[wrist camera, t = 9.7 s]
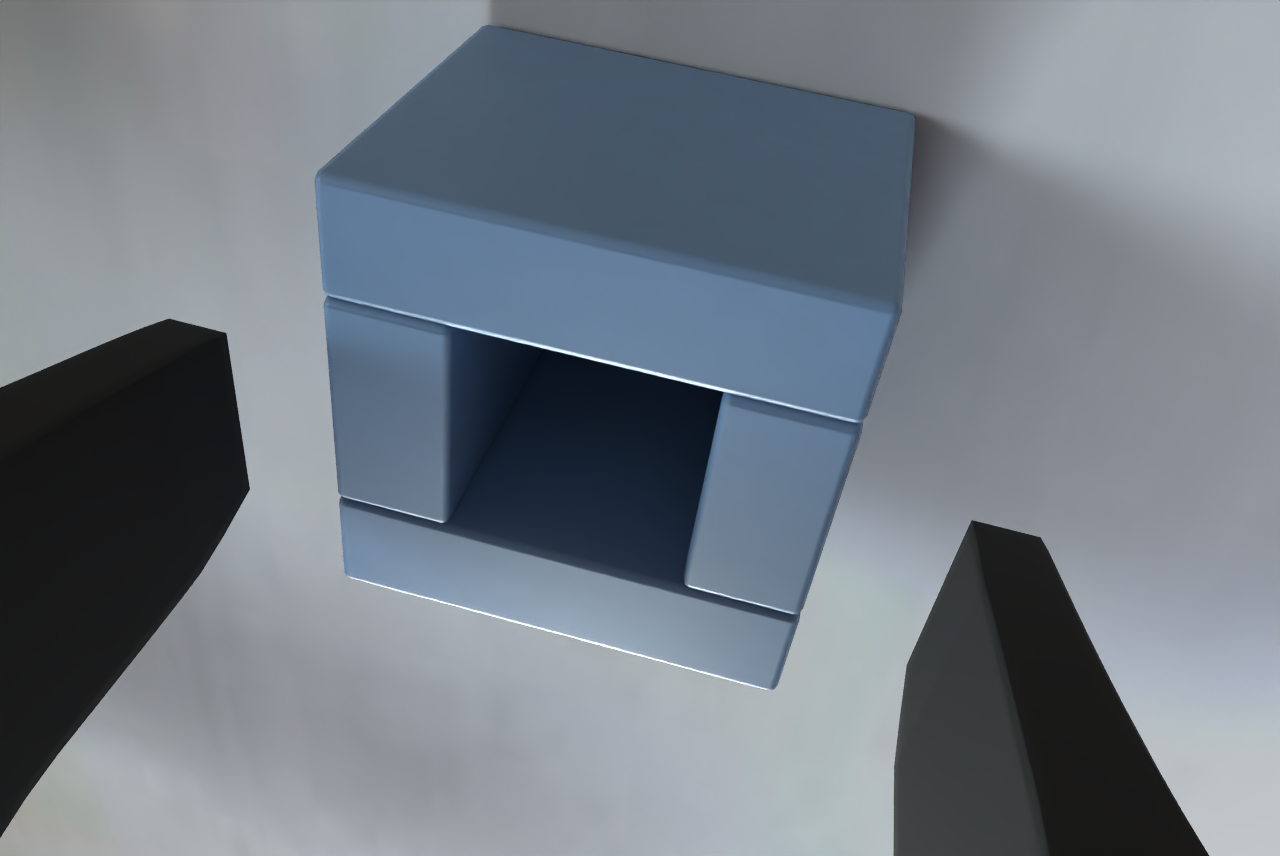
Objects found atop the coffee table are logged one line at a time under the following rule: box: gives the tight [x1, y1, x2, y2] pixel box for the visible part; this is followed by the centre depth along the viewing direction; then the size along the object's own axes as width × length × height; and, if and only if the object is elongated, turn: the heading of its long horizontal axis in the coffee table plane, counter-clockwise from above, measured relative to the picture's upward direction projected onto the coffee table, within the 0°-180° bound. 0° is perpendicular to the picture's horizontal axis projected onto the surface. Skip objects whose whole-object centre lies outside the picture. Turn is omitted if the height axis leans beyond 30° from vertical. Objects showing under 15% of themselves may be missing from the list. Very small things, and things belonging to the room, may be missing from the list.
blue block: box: [315, 25, 915, 690], centre depth 12 cm, size 5×5×4 cm
